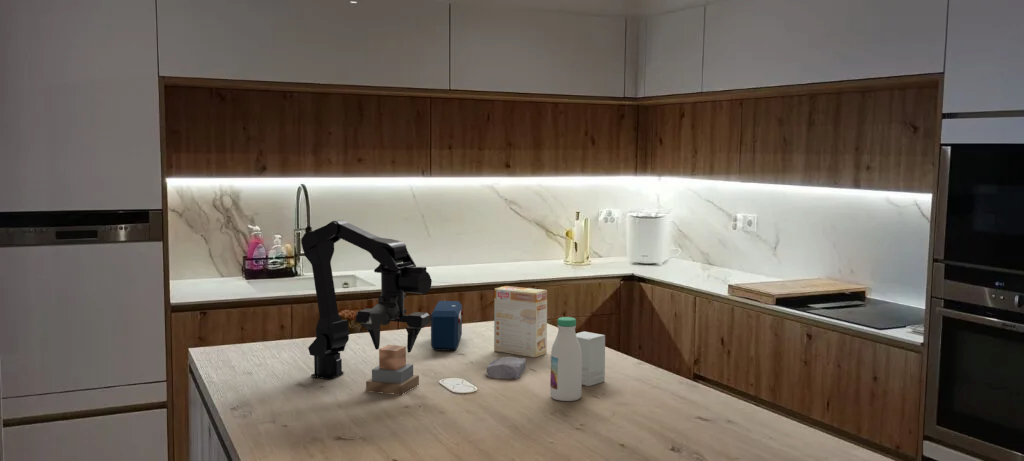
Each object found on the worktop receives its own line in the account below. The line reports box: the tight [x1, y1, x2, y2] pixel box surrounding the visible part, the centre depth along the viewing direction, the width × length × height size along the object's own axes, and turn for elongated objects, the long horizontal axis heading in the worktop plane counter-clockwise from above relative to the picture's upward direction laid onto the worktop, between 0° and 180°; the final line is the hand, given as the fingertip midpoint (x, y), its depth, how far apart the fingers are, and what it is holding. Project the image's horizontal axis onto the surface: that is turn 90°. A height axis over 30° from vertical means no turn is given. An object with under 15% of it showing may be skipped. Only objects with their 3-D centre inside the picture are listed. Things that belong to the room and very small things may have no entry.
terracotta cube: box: [378, 344, 407, 370], centre depth 219 cm, size 5×5×5 cm
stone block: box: [486, 356, 527, 380], centre depth 235 cm, size 12×5×10 cm
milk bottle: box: [549, 316, 582, 402], centre depth 211 cm, size 8×8×20 cm
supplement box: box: [575, 330, 606, 387], centre depth 226 cm, size 7×7×13 cm
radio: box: [430, 300, 464, 351], centre depth 268 cm, size 21×9×20 cm, turn 179°
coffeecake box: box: [493, 285, 548, 358], centre depth 258 cm, size 15×7×20 cm, turn 58°
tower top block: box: [371, 363, 414, 384], centre depth 220 cm, size 8×8×3 cm
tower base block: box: [365, 374, 420, 396], centre depth 220 cm, size 10×10×3 cm
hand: (393, 350), depth 219 cm, fingers open, 9 cm apart
